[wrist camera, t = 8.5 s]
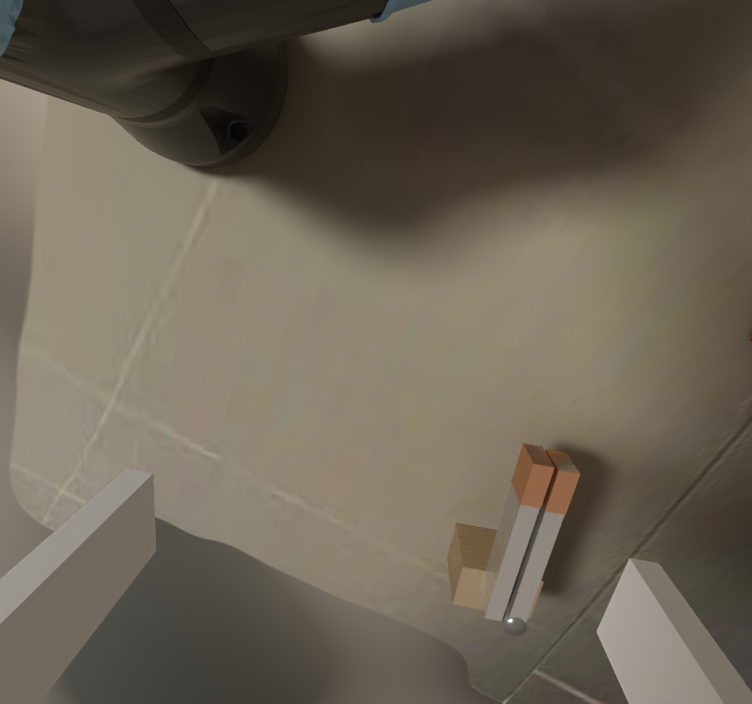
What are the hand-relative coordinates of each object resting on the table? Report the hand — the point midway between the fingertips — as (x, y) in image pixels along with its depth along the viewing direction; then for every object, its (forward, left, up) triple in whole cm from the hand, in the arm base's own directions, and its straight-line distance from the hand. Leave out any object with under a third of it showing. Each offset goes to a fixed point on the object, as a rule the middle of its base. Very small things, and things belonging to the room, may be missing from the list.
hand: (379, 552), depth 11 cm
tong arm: (+17, +15, -22) cm, 32 cm away
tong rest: (+18, +14, -29) cm, 37 cm away
